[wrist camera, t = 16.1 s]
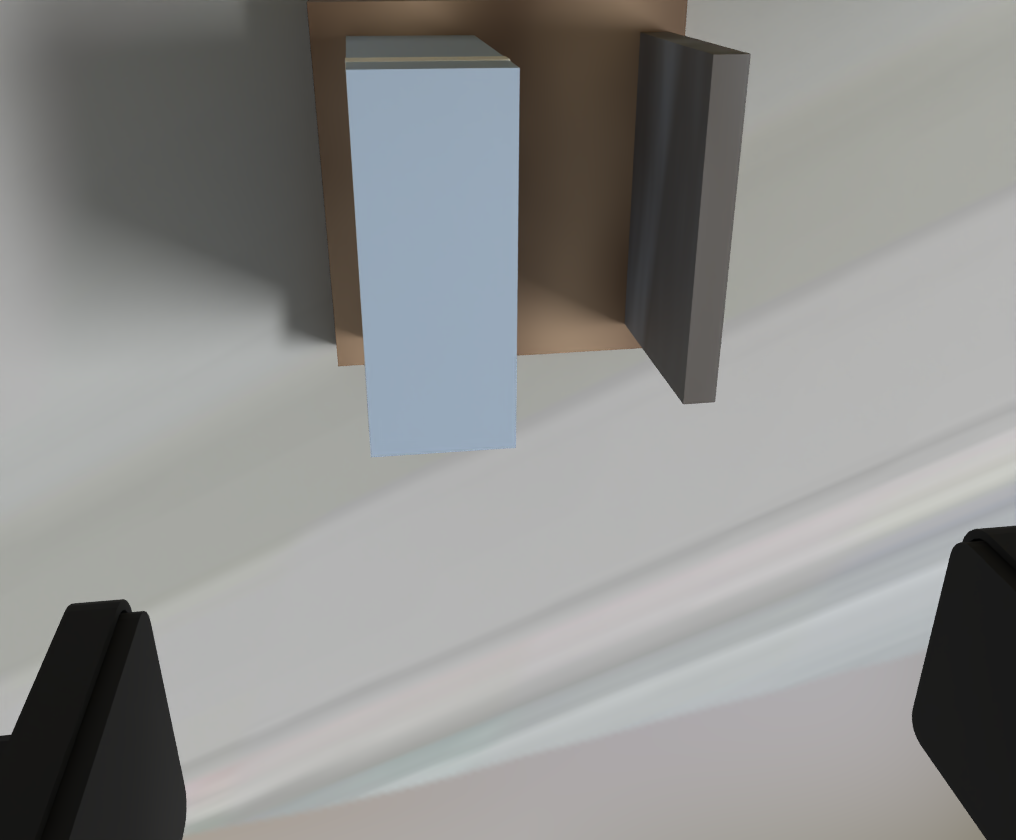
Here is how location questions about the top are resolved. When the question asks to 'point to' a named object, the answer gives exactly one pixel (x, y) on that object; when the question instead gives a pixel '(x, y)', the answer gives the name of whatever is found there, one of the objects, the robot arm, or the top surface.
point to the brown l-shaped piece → (578, 171)
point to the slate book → (436, 239)
